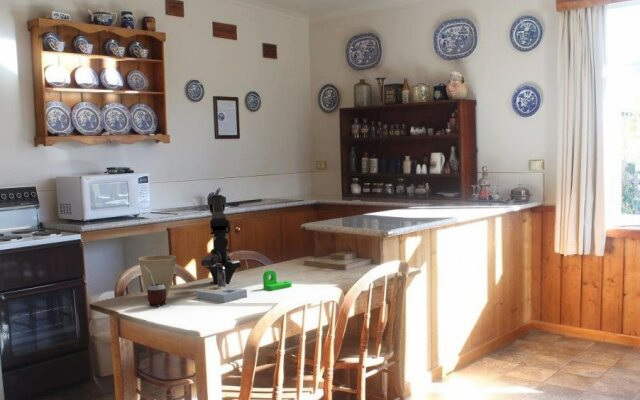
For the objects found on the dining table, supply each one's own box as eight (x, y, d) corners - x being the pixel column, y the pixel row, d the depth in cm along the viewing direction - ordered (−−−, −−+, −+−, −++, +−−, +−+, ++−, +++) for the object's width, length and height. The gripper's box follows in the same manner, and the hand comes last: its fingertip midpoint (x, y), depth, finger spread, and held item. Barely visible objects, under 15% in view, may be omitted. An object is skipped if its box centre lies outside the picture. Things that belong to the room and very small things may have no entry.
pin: (216, 290, 277) (215, 267, 276) (222, 289, 280) (221, 266, 279) (221, 291, 275) (220, 268, 274) (227, 290, 277) (226, 266, 277)
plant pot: (158, 301, 260) (156, 261, 259) (132, 297, 268) (130, 259, 267) (185, 293, 273) (183, 255, 272) (159, 291, 281) (158, 254, 280)
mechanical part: (272, 291, 273) (271, 272, 273) (263, 289, 278) (262, 270, 278) (294, 287, 281) (293, 268, 281) (285, 285, 286) (285, 267, 285)
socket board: (197, 298, 263) (196, 290, 263) (219, 292, 272) (219, 285, 272) (224, 302, 253) (224, 294, 253) (246, 297, 262) (246, 289, 262)
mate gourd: (167, 306, 250) (165, 267, 249) (145, 308, 248) (144, 268, 247) (166, 302, 257) (164, 264, 256) (145, 304, 255) (143, 266, 254)
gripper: (190, 247, 276) (192, 284, 277) (221, 250, 264) (222, 288, 265) (210, 244, 284) (212, 280, 285) (241, 247, 273) (242, 284, 274)
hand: (221, 283), depth 277 cm, fingers open, 7 cm apart
